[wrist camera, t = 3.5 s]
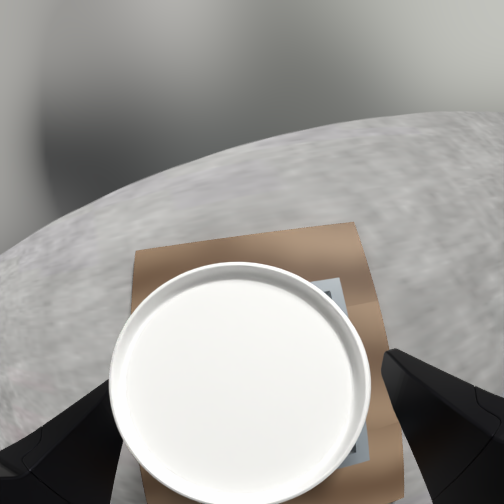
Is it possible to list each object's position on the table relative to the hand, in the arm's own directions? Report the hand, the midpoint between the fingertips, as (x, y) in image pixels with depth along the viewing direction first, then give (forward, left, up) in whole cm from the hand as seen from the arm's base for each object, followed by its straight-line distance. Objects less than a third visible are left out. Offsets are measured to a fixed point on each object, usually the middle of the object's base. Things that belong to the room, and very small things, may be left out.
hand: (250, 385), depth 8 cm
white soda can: (0, 0, -8) cm, 8 cm away
